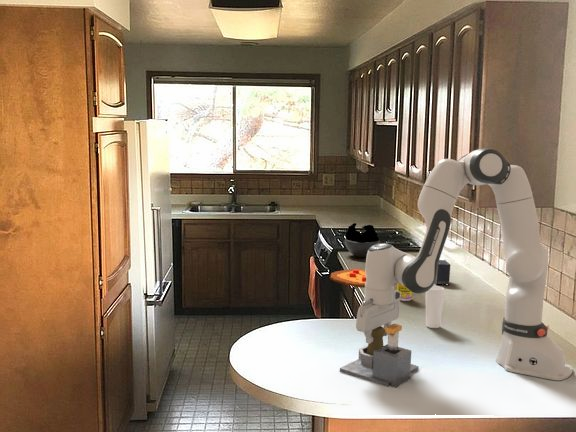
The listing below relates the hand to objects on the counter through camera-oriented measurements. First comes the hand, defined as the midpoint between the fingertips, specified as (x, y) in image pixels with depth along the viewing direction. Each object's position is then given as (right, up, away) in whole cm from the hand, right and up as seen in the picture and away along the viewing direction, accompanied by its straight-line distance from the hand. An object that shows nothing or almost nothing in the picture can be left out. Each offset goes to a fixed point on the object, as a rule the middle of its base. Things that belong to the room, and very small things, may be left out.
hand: (377, 338), depth 197 cm
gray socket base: (0, -9, -4) cm, 10 cm away
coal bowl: (+14, +15, +165) cm, 166 cm away
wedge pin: (+3, -3, -12) cm, 13 cm away
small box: (+46, +6, +108) cm, 117 cm away
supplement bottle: (+22, +2, +77) cm, 80 cm away
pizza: (+9, +7, +112) cm, 113 cm away
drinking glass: (+27, -3, +40) cm, 48 cm away
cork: (0, -7, +2) cm, 7 cm away
